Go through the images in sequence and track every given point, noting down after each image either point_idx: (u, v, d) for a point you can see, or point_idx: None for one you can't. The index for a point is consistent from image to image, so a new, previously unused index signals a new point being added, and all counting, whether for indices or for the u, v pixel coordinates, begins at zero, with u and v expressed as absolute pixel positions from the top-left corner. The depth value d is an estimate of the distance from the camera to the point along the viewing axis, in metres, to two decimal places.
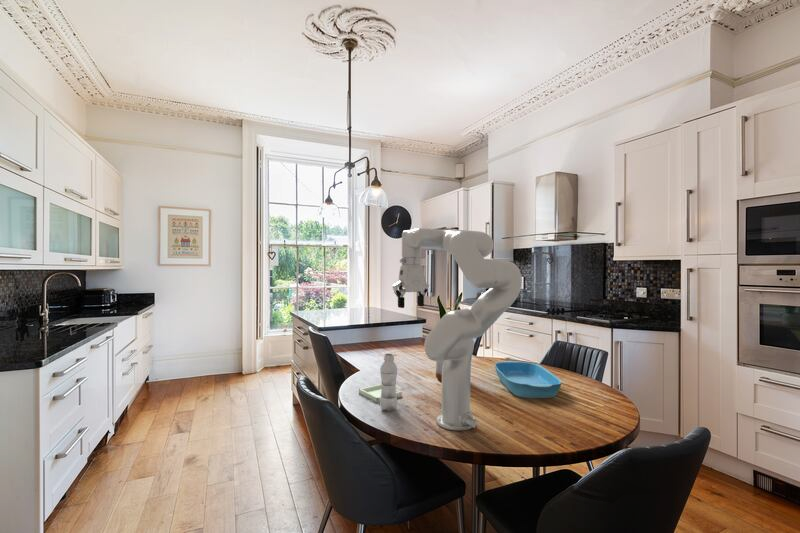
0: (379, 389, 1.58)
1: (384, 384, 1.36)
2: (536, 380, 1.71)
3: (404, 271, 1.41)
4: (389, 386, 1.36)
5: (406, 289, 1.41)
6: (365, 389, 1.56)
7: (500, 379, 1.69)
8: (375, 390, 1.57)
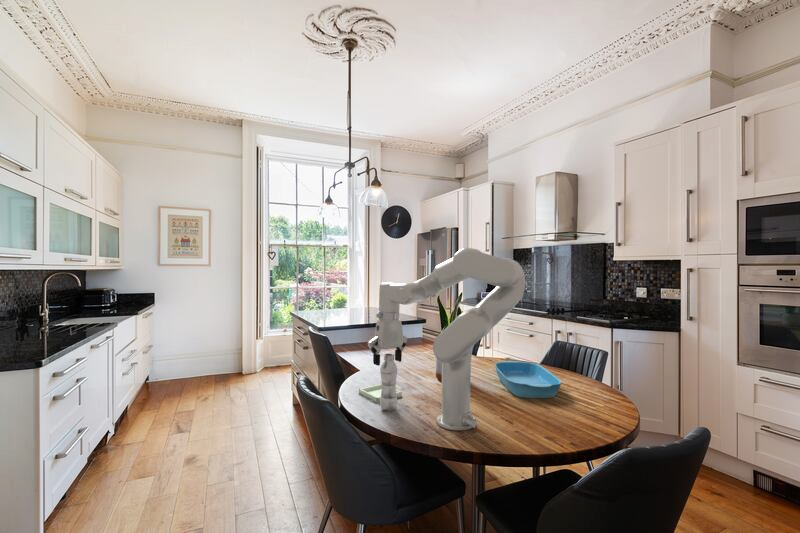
0: (379, 389, 1.58)
1: (384, 384, 1.36)
2: (536, 380, 1.71)
3: (380, 327, 1.34)
4: (389, 386, 1.36)
5: (382, 346, 1.34)
6: (365, 389, 1.56)
7: (500, 379, 1.69)
8: (375, 390, 1.57)
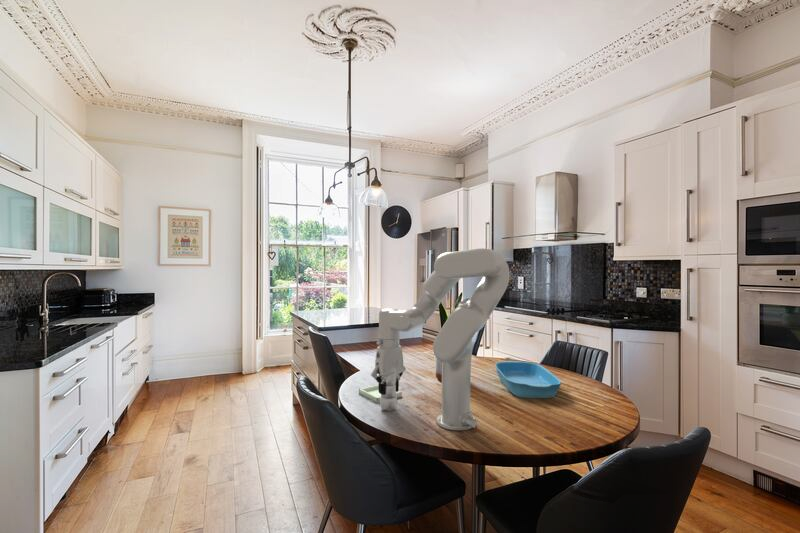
0: None
1: None
2: (537, 380, 1.71)
3: (381, 354, 1.34)
4: (389, 386, 1.36)
5: (383, 374, 1.33)
6: (365, 389, 1.56)
7: (500, 379, 1.69)
8: (375, 390, 1.57)
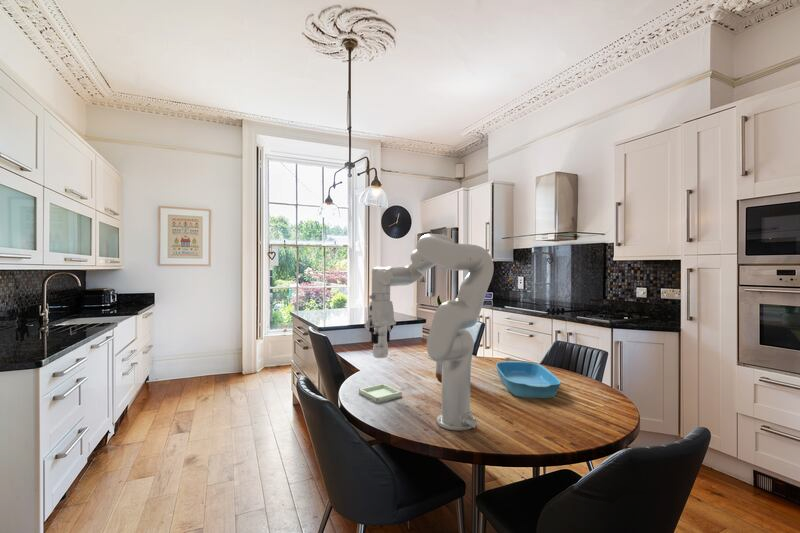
0: (379, 389, 1.58)
1: None
2: (538, 380, 1.71)
3: (373, 307, 1.49)
4: (381, 336, 1.51)
5: (375, 324, 1.48)
6: (365, 389, 1.56)
7: (501, 379, 1.69)
8: (375, 390, 1.57)
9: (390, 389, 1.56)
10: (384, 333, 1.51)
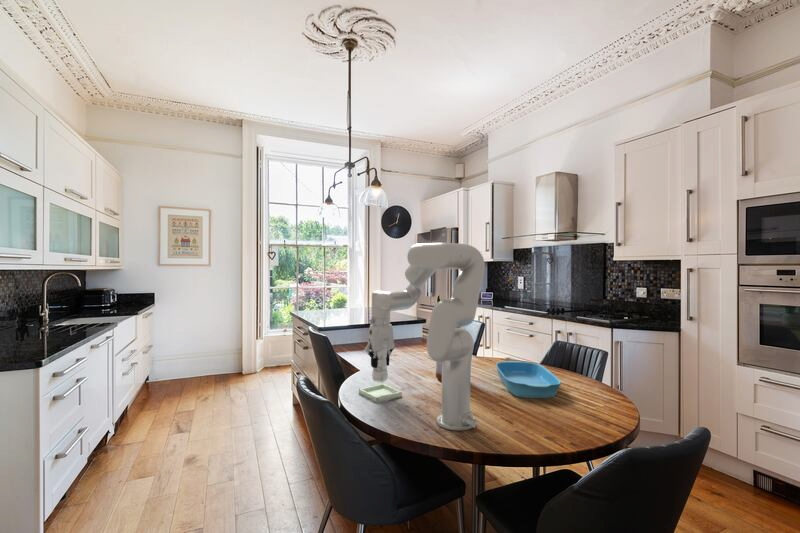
0: (379, 389, 1.58)
1: None
2: (538, 380, 1.71)
3: (373, 331, 1.49)
4: (381, 360, 1.51)
5: (374, 349, 1.48)
6: (365, 389, 1.56)
7: (501, 379, 1.69)
8: (375, 390, 1.57)
9: (390, 389, 1.56)
10: (384, 357, 1.51)
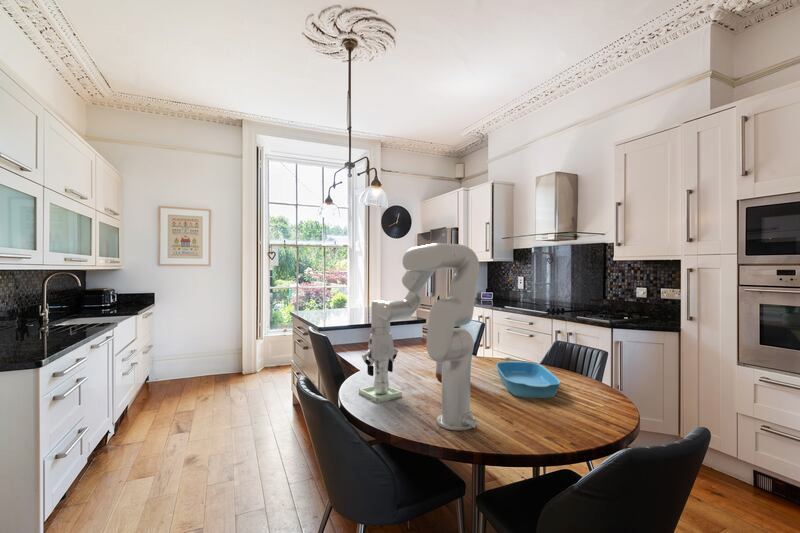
0: None
1: (377, 370, 1.51)
2: (538, 380, 1.71)
3: (373, 341, 1.49)
4: (382, 372, 1.51)
5: (374, 358, 1.48)
6: (365, 389, 1.56)
7: (501, 378, 1.70)
8: None
9: (390, 389, 1.56)
10: (385, 369, 1.51)
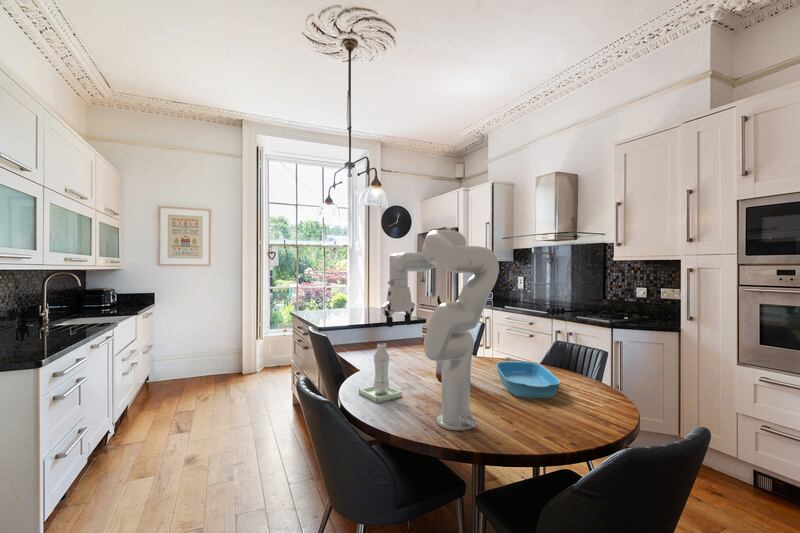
0: None
1: (377, 370, 1.51)
2: (538, 380, 1.71)
3: (392, 292, 1.51)
4: (382, 372, 1.51)
5: (394, 309, 1.50)
6: (365, 389, 1.56)
7: (501, 378, 1.70)
8: None
9: (390, 389, 1.56)
10: (385, 369, 1.51)
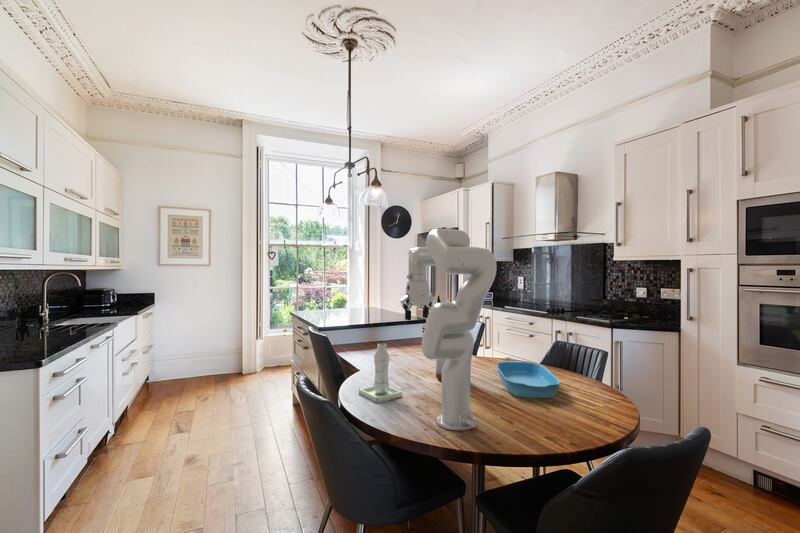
0: None
1: (377, 370, 1.51)
2: (538, 380, 1.71)
3: (411, 286, 1.54)
4: (382, 372, 1.51)
5: (413, 303, 1.53)
6: (365, 389, 1.56)
7: (501, 378, 1.70)
8: None
9: (390, 389, 1.56)
10: (385, 369, 1.51)
